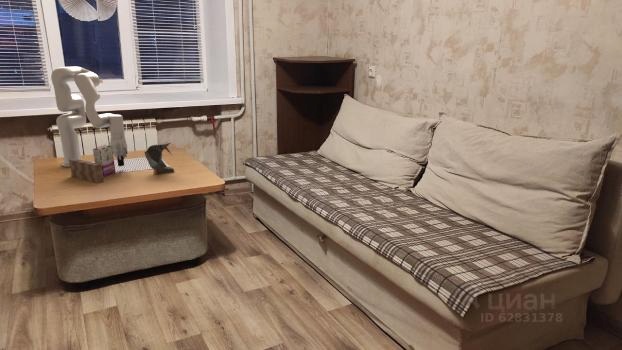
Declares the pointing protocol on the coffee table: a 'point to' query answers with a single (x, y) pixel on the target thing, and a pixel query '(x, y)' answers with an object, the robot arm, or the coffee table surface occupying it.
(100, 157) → the candy bar box
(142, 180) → the coffee table surface
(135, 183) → the coffee table surface
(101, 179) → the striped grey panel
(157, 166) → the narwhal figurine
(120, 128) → the robot arm
